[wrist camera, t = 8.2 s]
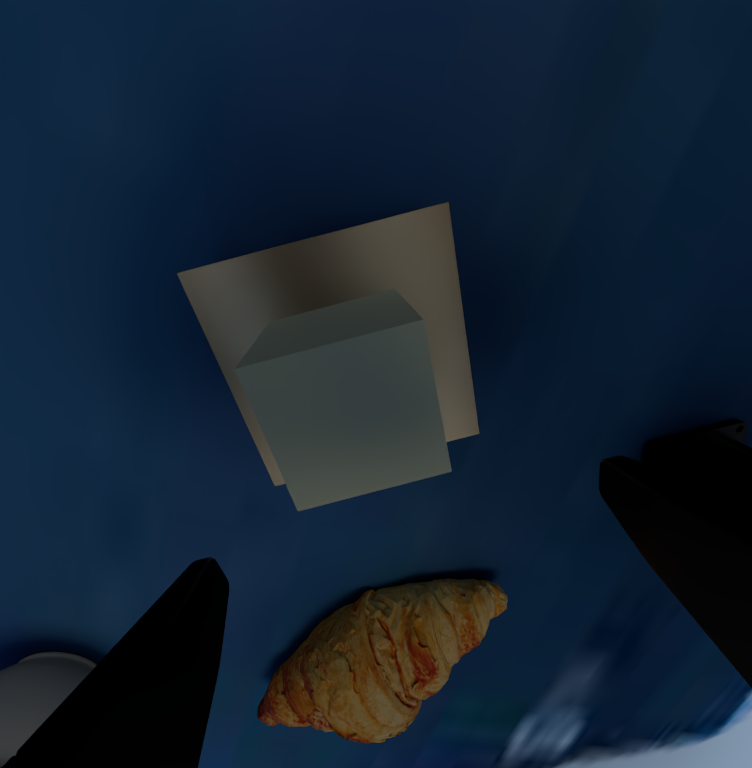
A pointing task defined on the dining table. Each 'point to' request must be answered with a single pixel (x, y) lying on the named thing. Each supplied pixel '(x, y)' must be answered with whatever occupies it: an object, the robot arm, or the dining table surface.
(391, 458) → the sage cube
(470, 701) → the dining table surface
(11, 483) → the dining table surface
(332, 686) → the croissant
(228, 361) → the birch plinth
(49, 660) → the lidded jar
